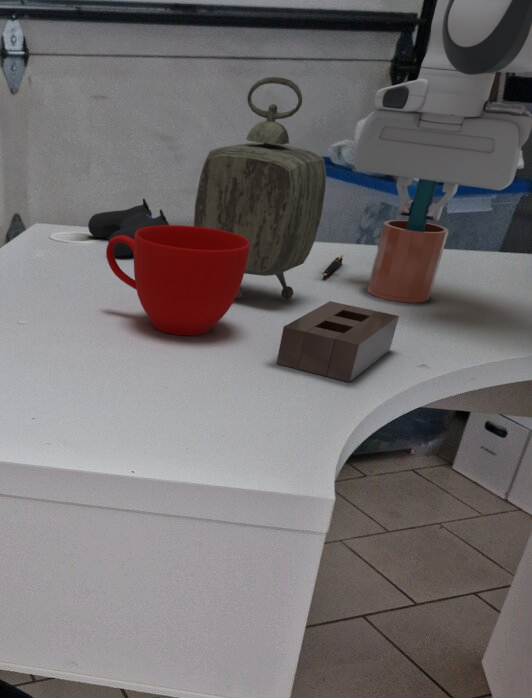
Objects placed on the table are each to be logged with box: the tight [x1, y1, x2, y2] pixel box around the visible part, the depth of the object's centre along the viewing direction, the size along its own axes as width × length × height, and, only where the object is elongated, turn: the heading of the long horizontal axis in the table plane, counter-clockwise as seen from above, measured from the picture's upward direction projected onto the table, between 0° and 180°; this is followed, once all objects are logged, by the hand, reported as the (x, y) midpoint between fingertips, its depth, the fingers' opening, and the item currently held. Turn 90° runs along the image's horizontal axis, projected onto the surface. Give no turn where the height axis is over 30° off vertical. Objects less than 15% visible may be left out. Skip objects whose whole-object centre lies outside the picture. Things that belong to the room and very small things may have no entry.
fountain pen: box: [322, 254, 344, 278], centre depth 126 cm, size 14×1×2 cm, turn 155°
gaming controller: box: [87, 198, 170, 258], centre depth 131 cm, size 17×6×10 cm
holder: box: [276, 300, 400, 383], centre depth 91 cm, size 8×14×4 cm, turn 146°
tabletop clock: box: [193, 76, 327, 300], centre depth 105 cm, size 14×9×25 cm, turn 56°
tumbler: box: [367, 219, 450, 304], centre depth 115 cm, size 8×8×9 cm
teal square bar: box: [406, 179, 439, 232], centre depth 113 cm, size 2×2×14 cm
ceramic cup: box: [105, 224, 250, 336], centre depth 96 cm, size 13×17×10 cm
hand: (418, 217), depth 112 cm, fingers closed on teal square bar, 2 cm apart
